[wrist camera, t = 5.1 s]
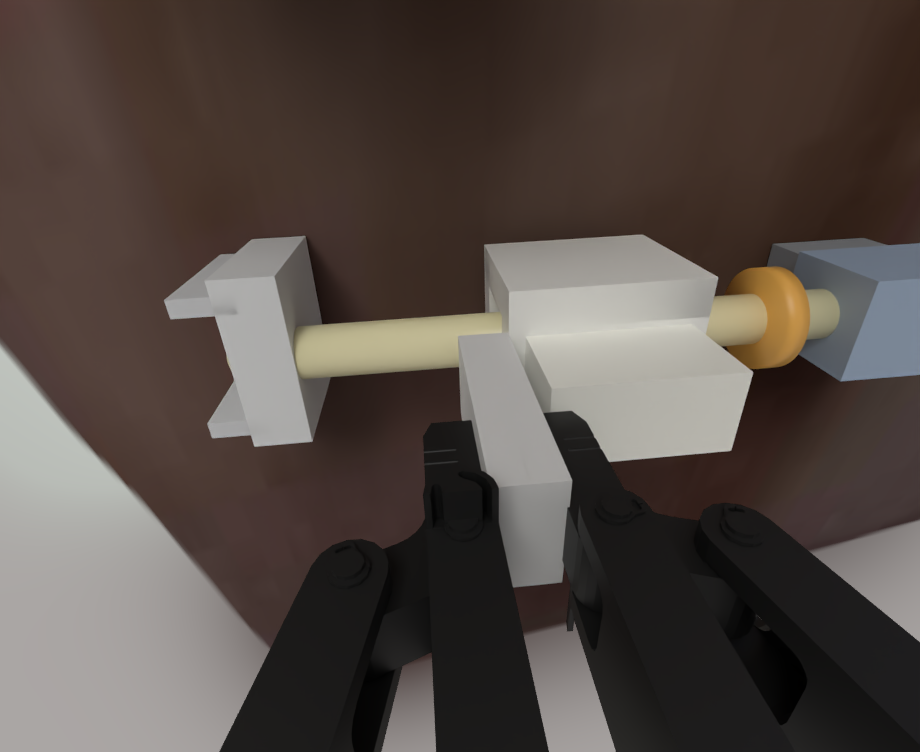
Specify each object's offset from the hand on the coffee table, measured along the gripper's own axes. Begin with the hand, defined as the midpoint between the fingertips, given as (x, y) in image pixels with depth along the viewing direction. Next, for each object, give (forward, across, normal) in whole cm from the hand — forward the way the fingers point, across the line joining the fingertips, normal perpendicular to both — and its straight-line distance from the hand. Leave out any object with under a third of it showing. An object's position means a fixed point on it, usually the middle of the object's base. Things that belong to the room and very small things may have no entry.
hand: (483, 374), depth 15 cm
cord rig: (+6, +4, 0) cm, 8 cm away
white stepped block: (+5, +4, 0) cm, 6 cm away
